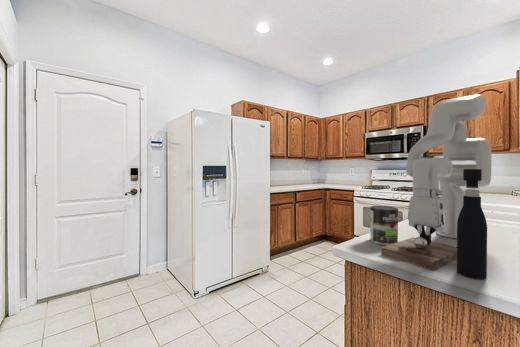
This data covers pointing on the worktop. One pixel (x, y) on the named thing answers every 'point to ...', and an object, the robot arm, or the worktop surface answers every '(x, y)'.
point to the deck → (421, 253)
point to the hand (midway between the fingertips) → (425, 244)
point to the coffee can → (384, 225)
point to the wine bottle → (472, 230)
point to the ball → (420, 242)
